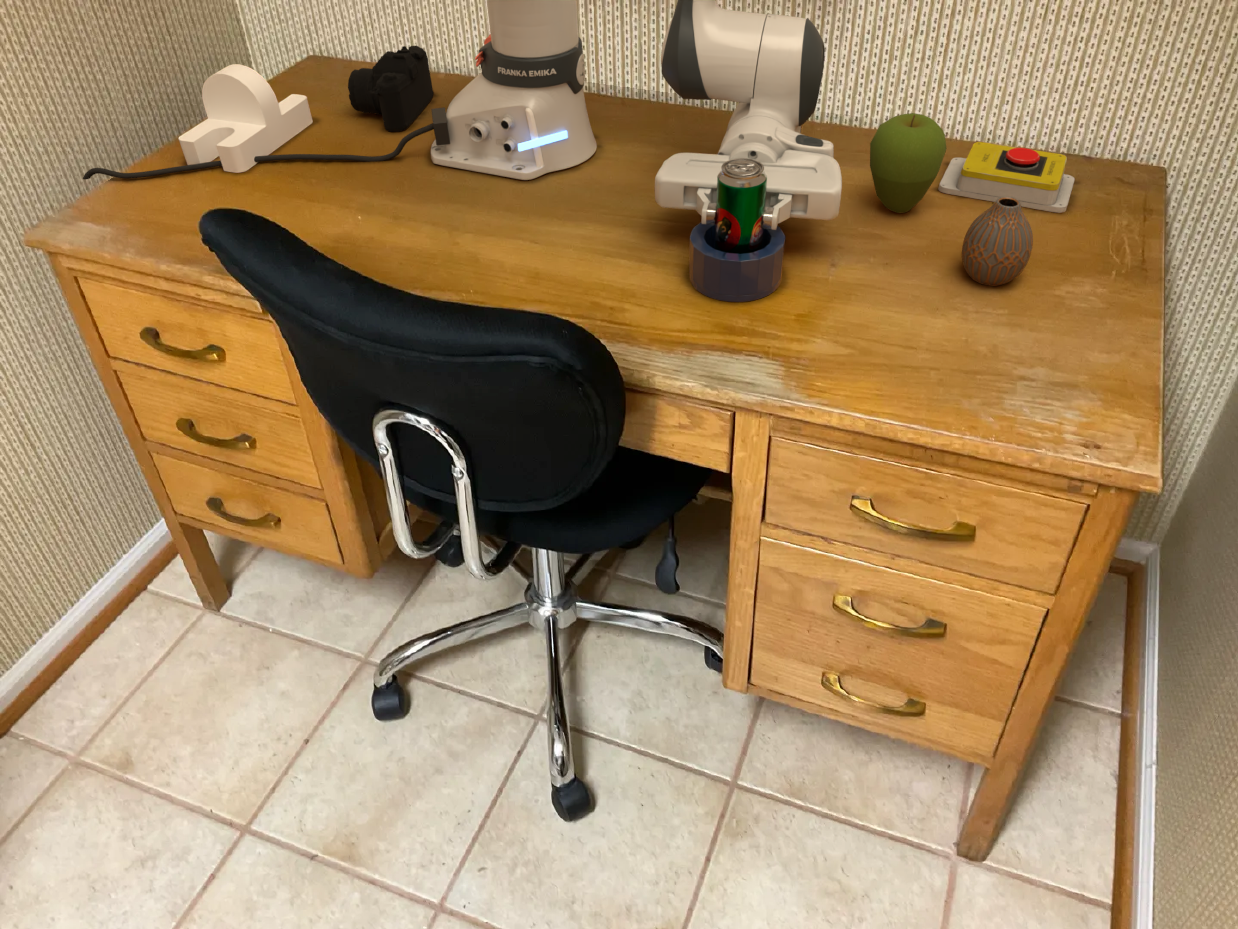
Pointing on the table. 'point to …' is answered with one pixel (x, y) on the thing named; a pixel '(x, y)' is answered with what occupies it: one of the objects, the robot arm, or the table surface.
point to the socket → (735, 266)
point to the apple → (906, 159)
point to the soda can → (740, 206)
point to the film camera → (393, 87)
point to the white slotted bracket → (242, 120)
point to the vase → (998, 243)
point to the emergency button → (1010, 176)
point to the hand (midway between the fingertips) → (738, 220)
